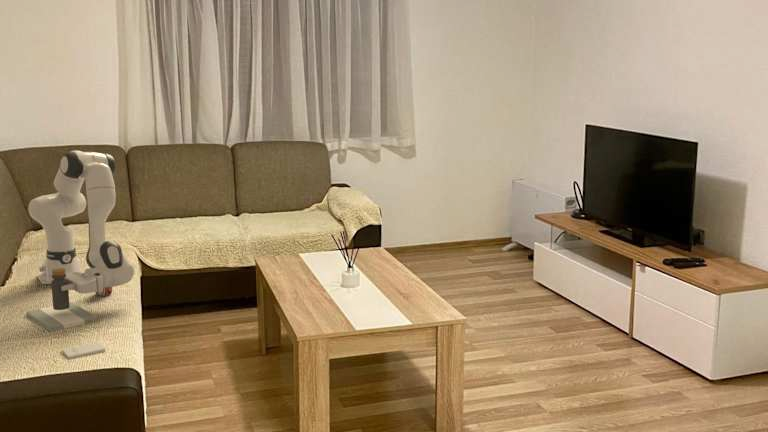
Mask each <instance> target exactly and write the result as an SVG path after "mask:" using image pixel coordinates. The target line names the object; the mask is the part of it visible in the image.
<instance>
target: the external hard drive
mask: <svg viewBox="0 0 768 432" xmlns="http://www.w3.org/2000/svg"><path fill="white" fill-rule="evenodd" d="M105 352H106V348H105V346H103V344H101V343H100V342H99V341H97V342H92V343H87V344H84V345H83V344H82V345H78V346H72V347H69V348H63V349H61V353H62V354H63V355H64V356H65V357H66V358H67V359H68V360H71V359H75V358H80V357H85V356H89V355H94V354H99V353H105Z"/></svg>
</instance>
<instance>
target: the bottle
mask: <svg viewBox="0 0 768 432" xmlns="http://www.w3.org/2000/svg"><path fill="white" fill-rule="evenodd" d="M52 273H53V275H52V278H53V279H54V280H53V281H52V282H51V284H50V285H51V287H50V288H51V297H52V306H53V309H54V310H64V309H68V308H69V303H70V294H69V292H70V291H69V290H64V291H62V290H61V289H60V286H61V285H68V281H67V280H66V279H65V277H66V274H65V269H61V268H60V269H54V270H52Z"/></svg>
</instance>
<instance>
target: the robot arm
mask: <svg viewBox="0 0 768 432" xmlns="http://www.w3.org/2000/svg"><path fill="white" fill-rule="evenodd" d="M116 167H117V166H116V160H115V158H114V157H113V155H112V154H109V153H105V152H102V153H101V152H95V151H81V150H78V149H77V150H71V151H68V152H66V153H64V154H63V155H62V156H61V158H60V163H59V168H58V171H57V173H56V175H55V178H54V180H53V186H54V188H55V190H56V191H57V192H56V193H51V194H46V195H40V196H38V197H35V198H33V199H31V200H30V202H29V203H28V210H27V211H28V214H29V215H30V217H31V218H32V219H33V220H34V221H36V222H37V223H38V224H40V225H41V227H42V229H43V230H44V233H45V237H46V245H47V249H46V252H45V255H46V258H45V259H44V261H43V262H42V263H41V265H40V266H38V267H39V272H40V273H37V274H36V277H37V278H38V280H39V282H40V284H42V285H51V282H52V281H53V280H54V279H53V278H52V275H53V273H52V270H54V269H60V268H61V269H65V274H66V277H65V279H66V280H67V281H68V285H61V286H60V289H61V290H62V291H64V290H68V291H75V292H76V293H78V294H91V293H95V292H102V291H103V289H104V288H106V287H112V288H114V287H118V286H122V285H125V284H128V283H129V282H131V281H132V279H133V277H134V272H135V269H134V266H133V263H131V262H130V261H128V259H127V257H126V256H125V254H124V253H123V251H122V247H121V245H120V244H118V242H116V241H114V240H106V222H107V219H108V217H109V216H110V214H111V212H112V210H113V209H114V207H115V205H116V199H117V198H116V197H117V196H116V195H117V194H116V185H115V180H114V177H113V176H114V174H115V171H116ZM84 182H85V191H86V197H85V195H84V194H83V193H81V189H82V186H83V184H84ZM86 207H87V212H88V213H87V214H88V220H87V221H88V241H89V243H88V250H87V252H86V255H85V261H86V264H87V265H88V267H89V268H86V269H85V270H84V272H82V267H81V260H80V258H78V257H77V250H76V246H75V237H74V232H73V229H71V228H70V227H68V226H66V225H64V223H63V220H62V219H63V218H69V217H74V216H77V215H78V214H81V213H83V212H84V211H85V209H86Z"/></svg>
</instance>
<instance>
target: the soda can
mask: <svg viewBox="0 0 768 432" xmlns="http://www.w3.org/2000/svg"><path fill="white" fill-rule="evenodd" d="M112 293H113V287H106V288H104V289H103V291H102V292H94V294H96V295H97V296H98V297H105V296H109V295H111V294H112Z"/></svg>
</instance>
